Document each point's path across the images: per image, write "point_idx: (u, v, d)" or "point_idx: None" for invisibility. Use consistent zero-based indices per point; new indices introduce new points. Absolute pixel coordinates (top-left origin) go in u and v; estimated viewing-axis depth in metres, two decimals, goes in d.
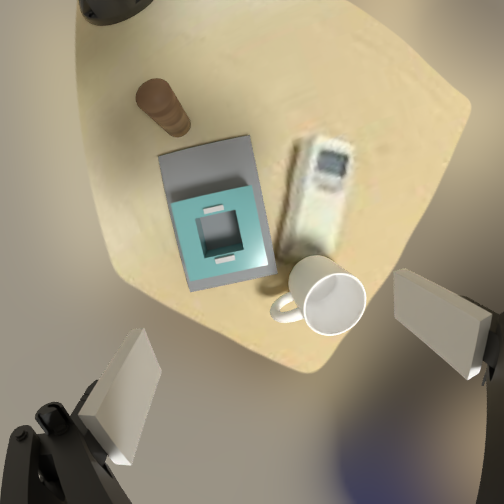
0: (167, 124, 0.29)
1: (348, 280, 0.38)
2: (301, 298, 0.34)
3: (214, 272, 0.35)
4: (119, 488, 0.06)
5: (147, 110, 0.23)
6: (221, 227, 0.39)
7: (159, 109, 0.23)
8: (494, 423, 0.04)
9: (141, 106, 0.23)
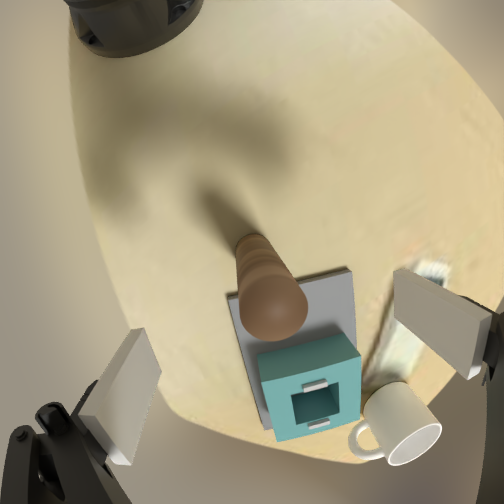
0: None
1: None
2: (387, 445, 0.25)
3: (304, 433, 0.27)
4: (119, 488, 0.06)
5: (264, 338, 0.15)
6: None
7: (285, 337, 0.15)
8: (494, 423, 0.04)
9: (252, 332, 0.15)
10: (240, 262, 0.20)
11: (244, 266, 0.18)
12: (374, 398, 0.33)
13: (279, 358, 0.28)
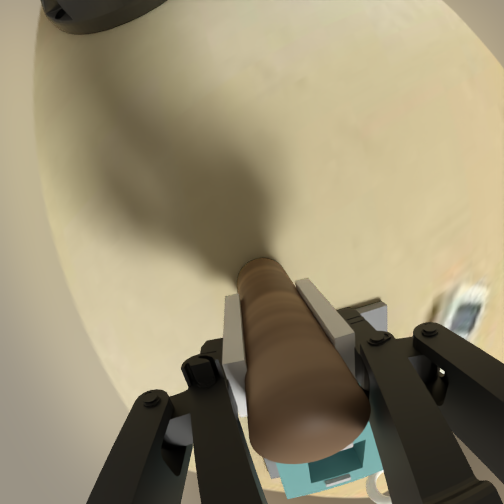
0: None
1: None
2: None
3: (320, 489, 0.19)
4: (248, 449, 0.07)
5: (290, 461, 0.07)
6: None
7: (325, 455, 0.07)
8: (385, 451, 0.05)
9: (272, 456, 0.07)
10: (246, 314, 0.13)
11: (254, 329, 0.11)
12: None
13: None
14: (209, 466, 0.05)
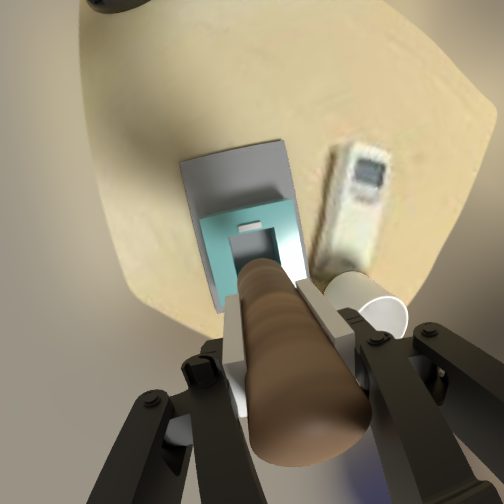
0: None
1: (386, 299, 0.34)
2: None
3: None
4: (248, 449, 0.07)
5: (291, 464, 0.07)
6: (253, 243, 0.35)
7: (326, 458, 0.07)
8: (385, 451, 0.05)
9: (272, 459, 0.07)
10: (246, 315, 0.13)
11: (254, 330, 0.11)
12: (330, 285, 0.37)
13: (221, 211, 0.33)
14: (209, 466, 0.05)
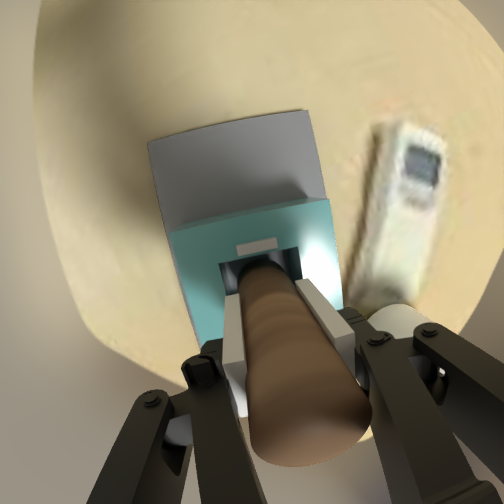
0: None
1: None
2: None
3: None
4: (248, 449, 0.07)
5: (292, 464, 0.07)
6: None
7: (326, 458, 0.07)
8: (385, 451, 0.05)
9: (273, 459, 0.07)
10: (246, 315, 0.13)
11: (254, 331, 0.11)
12: None
13: (208, 219, 0.20)
14: (209, 466, 0.05)
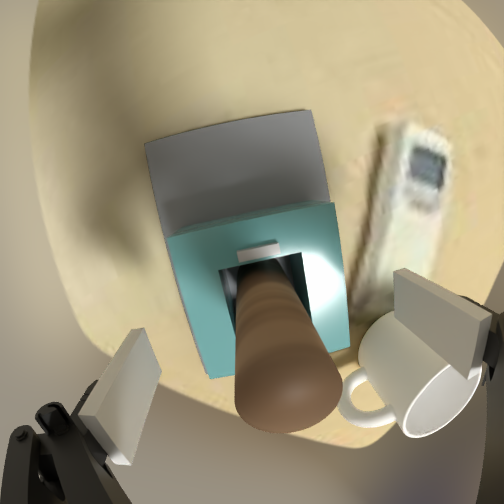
0: None
1: None
2: (400, 397, 0.17)
3: None
4: (119, 488, 0.06)
5: (273, 430, 0.09)
6: None
7: (304, 426, 0.09)
8: (494, 423, 0.04)
9: (255, 423, 0.09)
10: (240, 301, 0.14)
11: (245, 313, 0.12)
12: (373, 331, 0.24)
13: (208, 223, 0.19)
14: None
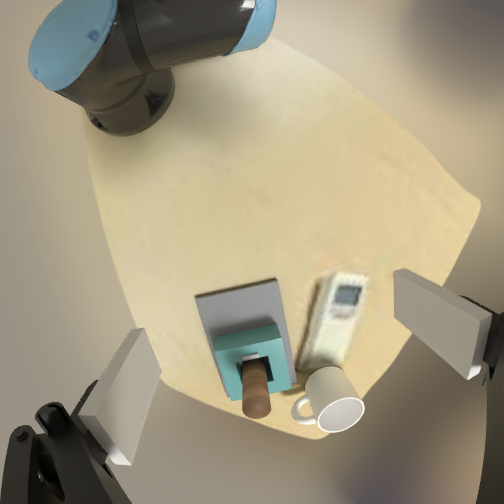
0: None
1: None
2: (316, 411, 0.40)
3: None
4: (119, 488, 0.06)
5: (253, 417, 0.32)
6: None
7: (262, 417, 0.32)
8: (494, 423, 0.04)
9: (248, 415, 0.32)
10: (244, 376, 0.38)
11: (245, 382, 0.36)
12: (311, 377, 0.47)
13: (229, 338, 0.43)
14: None
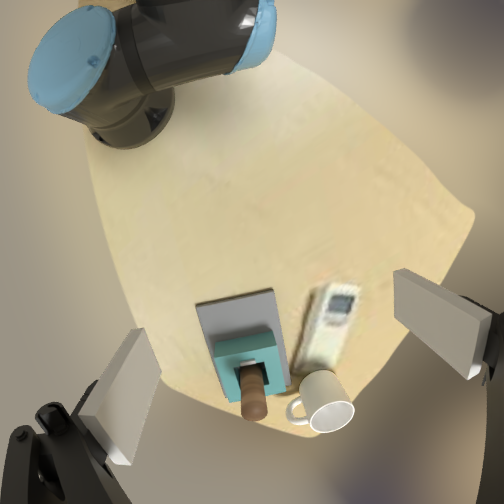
0: None
1: None
2: (308, 413, 0.43)
3: None
4: (119, 488, 0.06)
5: (251, 420, 0.35)
6: None
7: (259, 419, 0.35)
8: (494, 423, 0.04)
9: (246, 418, 0.35)
10: (242, 381, 0.40)
11: (243, 387, 0.38)
12: (304, 380, 0.50)
13: (228, 344, 0.45)
14: None
